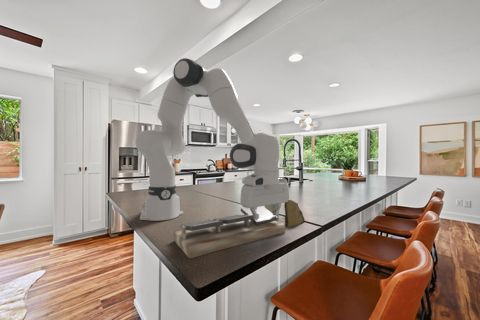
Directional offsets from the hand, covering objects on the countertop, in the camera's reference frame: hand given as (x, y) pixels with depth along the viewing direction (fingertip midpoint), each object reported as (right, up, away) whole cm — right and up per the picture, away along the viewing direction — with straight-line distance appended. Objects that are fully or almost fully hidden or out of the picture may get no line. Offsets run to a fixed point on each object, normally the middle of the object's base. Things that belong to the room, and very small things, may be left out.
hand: (266, 217), depth 73 cm
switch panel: (-12, -6, -3) cm, 14 cm away
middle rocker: (-12, 0, -3) cm, 12 cm away
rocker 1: (-21, 0, -9) cm, 23 cm away
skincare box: (+5, -6, +18) cm, 20 cm away
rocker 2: (-2, 0, +4) cm, 4 cm away
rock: (+14, -6, +12) cm, 19 cm away
